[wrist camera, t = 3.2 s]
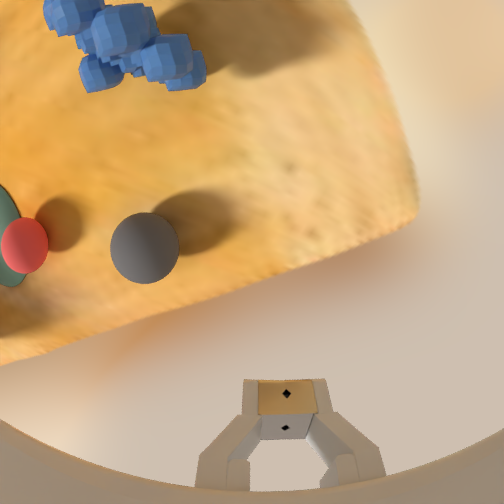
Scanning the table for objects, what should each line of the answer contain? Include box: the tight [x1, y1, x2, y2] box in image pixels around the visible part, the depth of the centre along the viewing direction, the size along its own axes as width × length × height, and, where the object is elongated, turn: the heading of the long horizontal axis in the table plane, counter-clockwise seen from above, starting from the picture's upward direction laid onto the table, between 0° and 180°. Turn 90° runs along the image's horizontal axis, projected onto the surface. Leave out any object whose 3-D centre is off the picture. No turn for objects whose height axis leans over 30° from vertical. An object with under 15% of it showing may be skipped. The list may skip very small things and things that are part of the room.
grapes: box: [43, 0, 207, 93], centre depth 12 cm, size 12×7×12 cm, turn 52°
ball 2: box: [110, 213, 179, 284], centre depth 21 cm, size 6×6×6 cm
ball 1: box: [1, 218, 48, 274], centre depth 21 cm, size 6×6×6 cm
